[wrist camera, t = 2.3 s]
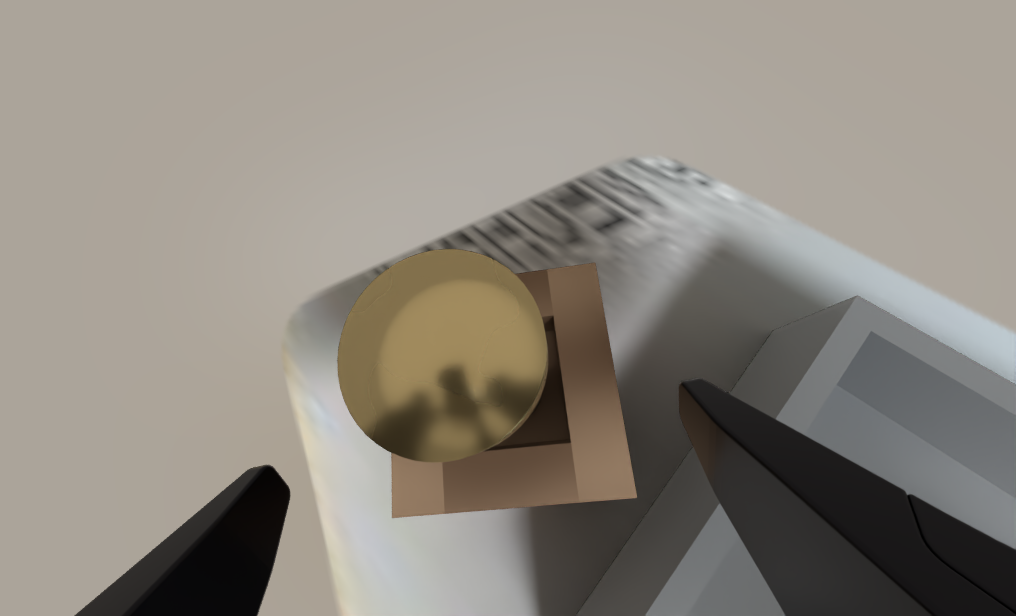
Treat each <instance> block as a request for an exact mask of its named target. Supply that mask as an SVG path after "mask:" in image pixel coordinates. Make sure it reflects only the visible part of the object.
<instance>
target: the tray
mask: <svg viewBox="0 0 1016 616" xmlns="http://www.w3.org/2000/svg"><path fill="white" fill-rule="evenodd" d="M729 394H731V395H733V396H735V397H737V398H738V399H740V400H742V401H744V402H746V403H748V404H749V405H751V406H753V407H755V408H757V409H758V410H760V411H762V412H764V413H766V414H767V415H769V416H771V417H773V418H775V419H777V420H778V421H780V422H782V423H784V424H786V425H787V426H789V427H791V428H793V429H795V430H797V431H798V432H800V433H802V434H804V435H806V436H807V437H809V438H811V439H813V440H815V441H816V442H818V443H820V444H822V445H824V446H826V447H827V448H829V449H831V450H833V451H835V452H836V453H838V454H840V455H842V456H844V457H846V458H847V459H849V460H851V461H853V462H855V463H856V464H858V465H860V466H862V467H864V468H865V469H867V470H869V471H871V472H873V473H875V474H876V475H878V476H880V477H882V478H884V479H885V480H887V481H889V482H891V483H893V484H895V485H896V486H898V487H900V488H902V489H904V490H905V491H906V493H907V495H908V494H913V495H915V496H917V497H918V498H920V499H922V500H924V501H926V502H928V503H929V504H931V505H933V506H935V507H937V508H938V509H940V510H942V511H944V512H946V513H948V514H950V515H951V516H953V517H955V518H957V519H959V520H961V521H963V522H965V523H966V524H968V525H970V526H972V527H974V528H976V529H978V530H980V531H982V532H983V533H985V534H987V535H989V536H991V537H993V538H995V539H997V540H998V541H1001V542H1003V543H1005V544H1007V545H1009V546H1011V547H1013V548H1015V549H1016V384H1014V383H1012V382H1010V381H1009V380H1007V379H1005V378H1003V377H1001V376H1000V375H998V374H996V373H994V372H993V371H991V370H989V369H987V368H985V367H984V366H982V365H980V364H978V363H977V362H975V361H973V360H971V359H970V358H968V357H966V356H964V355H962V354H961V353H959V352H957V351H955V350H954V349H952V348H950V347H948V346H946V345H945V344H943V343H941V342H939V341H938V340H936V339H934V338H932V337H930V336H929V335H927V334H925V333H923V332H922V331H920V330H918V329H916V328H915V327H913V326H911V325H909V324H907V323H906V322H904V321H902V320H900V319H899V318H897V317H895V316H893V315H891V314H890V313H888V312H886V311H884V310H883V309H881V308H879V307H877V306H876V305H874V304H872V303H870V302H868V301H867V300H865V299H863V298H861V297H860V296H858V295H857V296H855V297H852V298H850V299H848V300H845V301H843V302H840V303H838V304H836V305H833V306H831V307H829V308H826V309H824V310H821V311H819V312H817V313H814V314H812V315H809V316H807V317H805V318H802V319H800V320H797V321H795V322H793V323H790V324H788V325H785V326H783V327H781V328H778V329H776V330H773V331H772V333H771V334H770V336H769V337H768V338H767V340H766V341H765V343H764V344H763V346H762V347H761V349H760V350H759V351H758V353H757V354H756V356H755V357H754V359H753V360H752V362H751V363H750V364H749V366H748V367H747V369H746V370H745V372H744V373H743V375H742V376H741V377H740V379H739V380H738V382H737V383H736V385H735V386H734V388H733V389H732V390H731V392H730V393H729ZM576 616H785V614H784V612H783V611H782V609H781V607H780V605H779V604H778V602H777V600H776V599H775V597H774V595H773V593H772V592H771V590H770V588H769V587H768V585H767V583H766V581H765V580H764V578H763V576H762V574H761V573H760V571H759V569H758V568H757V566H756V564H755V562H754V561H753V559H752V557H751V556H750V554H749V552H748V550H747V549H746V547H745V545H744V544H743V542H742V540H741V538H740V537H739V535H738V533H737V532H736V530H735V528H734V526H733V525H732V523H731V521H730V520H729V518H728V516H727V514H726V513H725V511H724V509H723V508H722V506H721V504H720V502H719V500H718V499H717V497H716V495H715V493H714V491H713V489H712V487H711V485H710V483H709V481H708V479H707V476H706V474H705V472H704V470H703V467H702V465H701V463H700V461H699V459H698V456H697V454H696V452H695V450H694V447H692V448H691V450H690V451H689V453H688V454H687V456H686V457H685V458H684V460H683V461H682V463H681V464H680V466H679V467H678V469H677V470H676V471H675V473H674V474H673V476H672V477H671V479H670V480H669V482H668V483H667V484H666V486H665V487H664V489H663V490H662V492H661V493H660V495H659V496H658V497H657V499H656V500H655V502H654V503H653V505H652V506H651V508H650V509H649V510H648V512H647V513H646V515H645V516H644V518H643V519H642V521H641V522H640V524H639V525H638V526H637V528H636V529H635V531H634V532H633V534H632V535H631V537H630V538H629V539H628V541H627V542H626V544H625V545H624V547H623V548H622V550H621V551H620V552H619V554H618V555H617V557H616V558H615V560H614V561H613V563H612V564H611V565H610V567H609V568H608V570H607V571H606V573H605V574H604V576H603V577H602V578H601V580H600V581H599V583H598V584H597V586H596V587H595V589H594V590H593V591H592V593H591V594H590V596H589V597H588V599H587V600H586V602H585V603H584V604H583V606H582V607H581V609H580V610H579V612H578V613H577V615H576Z"/></svg>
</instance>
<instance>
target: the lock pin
mask: <svg viewBox="0 0 1016 616" xmlns="http://www.w3.org/2000/svg"><path fill="white" fill-rule="evenodd" d="M337 361H338V377H339V384H340V389H341V392H342V395H343V399H344V401H345V404H346V406H347V408H348V410H349V412H350V414H351V416H352V417H353V419H354V420H355V422H356V423H357V425H358V426H359V427H360V428H361V429H362V431H363V432H364V433H365V434H366V435H367V436H368V437H369V438H370V439H372V440H373V441H374V442H375V443H376V444H378V445H379V446H381V447H382V448H384V449H386V450H387V451H389V452H391V453H393V454H396V455H398V456H400V457H403V458H407V459H410V460H414V461H421V462H429V463H430V462H448V461H454V460H459V459H463V458H466V457H469V456H472V455H475V454H477V453H480V452H482V451H485V450H487V449H489V448H491V447H493V446H495V445H497V444H499V443H501V442H502V441H504V440H505V439H507V438H508V437H510V436H511V435H512V434H513V433H514V432H516V431H517V430H518V429H519V428H520V427H521V426H522V425H523V423H524V422H525V421H526V420H527V419H528V418H529V416H530V415H532V414H533V413H534V411H535V410H536V409H537V407H538V405H539V403H540V401H541V397H542V392H543V389H544V386H545V382H546V377H547V372H548V346H547V340H546V335H545V329H544V324H543V320H542V317H541V314H540V311H539V308H538V306H537V304H536V302H535V300H534V298H533V296H532V295H531V293H530V292H529V290H528V289H527V287H526V286H525V285H524V283H523V282H522V281H521V280H520V279H519V278H518V277H517V276H516V275H515V274H514V273H513V272H511V271H510V270H509V269H508V268H507V267H505V266H504V265H502V264H500V263H499V262H497V261H496V260H493V259H491V258H489V257H487V256H485V255H482V254H478V253H475V252H472V251H466V250H459V249H441V250H432V251H428V252H423V253H419V254H417V255H414V256H411V257H408V258H406V259H404V260H402V261H400V262H398V263H396V264H395V265H393V266H391V267H390V268H388V269H387V270H385V271H384V272H383V273H382V274H380V275H379V276H378V277H377V278H376V279H375V280H374V281H373V282H372V283H371V284H370V285H369V286H368V287H367V288H366V289H365V290H364V291H363V293H362V294H361V295H360V296H359V298H358V299H357V301H356V303H355V304H354V306H353V307H352V309H351V311H350V313H349V315H348V317H347V320H346V322H345V325H344V328H343V331H342V334H341V338H340V343H339V349H338V360H337Z"/></svg>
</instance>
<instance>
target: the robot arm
mask: <svg viewBox="0 0 1016 616" xmlns="http://www.w3.org/2000/svg"><path fill="white" fill-rule="evenodd" d="M679 413H680V417H681V420H682V423H683V425H684V427H685V429H686V432H687V434H688V436H689V438H690V441H691V443H692V445H693V447H694V450H695V452H696V454H697V456H698V459H699V461H700V463H701V465H702V467H703V470H704V472H705V474H706V476H707V479H708V481H709V483H710V485H711V487H712V489H713V491H714V493H715V495H716V497H717V499H718V500H719V502H720V504H721V506H722V508H723V509H724V511H725V513H726V514H727V516H728V518H729V520H730V521H731V523H732V525H733V526H734V528H735V530H736V532H737V533H738V535H739V537H740V538H741V540H742V542H743V544H744V545H745V547H746V549H747V550H748V552H749V554H750V556H751V557H752V559H753V561H754V562H755V564H756V566H757V568H758V569H759V571H760V573H761V574H762V576H763V578H764V580H765V581H766V583H767V585H768V587H769V588H770V590H771V592H772V593H773V595H774V597H775V599H776V600H777V602H778V604H779V605H780V607H781V609H782V611H783V612H784V614H785V616H1016V549H1015V548H1013V547H1011V546H1009V545H1007V544H1005V543H1003V542H1001V541H998V540H997V539H995V538H993V537H991V536H989V535H987V534H985V533H983V532H982V531H980V530H978V529H976V528H974V527H972V526H970V525H968V524H966V523H965V522H963V521H961V520H959V519H957V518H955V517H953V516H951V515H950V514H948V513H946V512H944V511H942V510H940V509H938V508H937V507H935V506H933V505H931V504H929V503H928V502H926V501H924V500H922V499H920V498H918V497H917V496H915V495H913V494H908V495H907V493H906V491H905V490H904V489H902V488H900V487H898V486H896V485H895V484H893V483H891V482H889V481H887V480H885V479H884V478H882V477H880V476H878V475H876V474H875V473H873V472H871V471H869V470H867V469H865V468H864V467H862V466H860V465H858V464H856V463H855V462H853V461H851V460H849V459H847V458H846V457H844V456H842V455H840V454H838V453H836V452H835V451H833V450H831V449H829V448H827V447H826V446H824V445H822V444H820V443H818V442H816V441H815V440H813V439H811V438H809V437H807V436H806V435H804V434H802V433H800V432H798V431H797V430H795V429H793V428H791V427H789V426H787V425H786V424H784V423H782V422H780V421H778V420H777V419H775V418H773V417H771V416H769V415H767V414H766V413H764V412H762V411H760V410H758V409H757V408H755V407H753V406H751V405H749V404H748V403H746V402H744V401H742V400H740V399H738V398H737V397H735V396H733V395H731V394H729V393H728V392H726V391H724V390H722V389H720V388H718V387H717V386H715V385H713V384H711V383H709V382H708V381H706V380H704V379H701V378H694V379H689V380H684V381H682V382H680V384H679ZM289 500H290V489H289V487H288V485H287V484H286V483H285V481H284V480H283V479H282V477H281V476H280V475H279V473H278V472H277V471H276V470H275V468H274V467H273V466H271V465H263V466H258V467H253V468H251V469H249V470H247V471H246V472H245V473H244V474H242V475H241V476H240V477H239V478H238V479H236V480H235V481H234V482H233V483H232V484H231V485H229V486H228V487H227V488H226V489H225V490H224V491H222V492H221V493H220V494H219V495H217V496H216V497H215V498H214V499H213V500H211V501H210V502H209V503H208V504H207V505H206V506H204V507H203V508H202V509H201V510H200V511H198V512H197V513H196V514H195V515H194V516H193V517H191V518H190V519H189V520H188V521H186V522H185V523H184V524H183V525H182V526H180V527H179V528H178V529H177V530H176V531H175V532H173V533H172V534H171V535H170V536H169V537H167V538H166V539H165V540H164V541H163V542H161V543H160V544H159V545H158V546H157V547H156V548H154V549H153V550H152V551H151V552H150V553H149V554H147V555H146V556H145V557H144V558H142V559H141V560H140V561H139V562H138V563H137V564H135V565H134V566H133V567H132V568H131V569H129V570H128V571H127V572H126V573H125V574H123V575H122V576H121V577H120V578H119V579H117V580H116V581H115V582H114V583H113V584H112V585H110V586H109V587H108V588H107V589H106V590H104V591H103V592H102V593H101V594H100V595H98V596H97V597H96V598H95V599H94V600H93V601H91V602H90V603H89V604H88V605H87V606H85V607H84V608H83V609H82V610H81V611H79V612H78V613H77V614H76V615H75V616H257V615H258V612H259V609H260V606H261V604H262V600H263V597H264V594H265V592H266V589H267V586H268V582H269V580H270V576H271V573H272V569H273V566H274V562H275V558H276V554H277V550H278V546H279V542H280V538H281V534H282V530H283V526H284V521H285V517H286V513H287V509H288V505H289Z"/></svg>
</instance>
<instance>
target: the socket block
mask: <svg viewBox="0 0 1016 616" xmlns="http://www.w3.org/2000/svg"><path fill="white" fill-rule="evenodd" d="M515 275H516V276H517V277H518V278H519V279H520V280H521V281H522V282H523V283H524V285H525V286H526V287H527V289H528V290H529V292H530V293H531V295H532V296H533V298H534V300H535V302H536V304H537V306H538V308H539V311H540V314H541V317H542V320H543V324H544V329H545V335H546V340H547V346H548V372H547V377H546V382H545V386H544V389H543V392H542V397H541V401H540V403H539V405H538V407H537V409H536V410H535V411H534V413H533V414H532V415H530V416H529V418H528V419H527V420H526V421H525V422H524V423H523V425H522V426H521V427H520V428H519V429H518V430H517V431H516V432H514V433H513V434H512V435H511V436H510V437H508V438H507V439H505V440H504V441H502V442H501V443H499V444H497V445H495V446H493V447H491V448H489V449H487V450H485V451H482V452H480V453H477V454H475V455H472V456H469V457H466V458H463V459H459V460H454V461H448V462H430V463H429V462H421V461H414V460H410V459H407V458H403V457H400V456H398V455H396V454H393V453H391V459H392V518H398V517H410V516H422V515H435V514H447V513H459V512H471V511H483V510H496V509H508V508H520V507H532V506H544V505H556V504H569V503H581V502H593V501H605V500H617V499H630V498H637V494H636V488H635V483H634V477H633V471H632V466H631V460H630V454H629V449H628V443H627V438H626V432H625V426H624V421H623V415H622V410H621V404H620V398H619V393H618V387H617V381H616V376H615V370H614V365H613V359H612V353H611V348H610V342H609V337H608V331H607V325H606V320H605V314H604V308H603V303H602V297H601V292H600V286H599V280H598V275H597V269H596V264H595V263H589V264H582V265H575V266H568V267H561V268H554V269H547V270H540V271H533V272H526V273H519V274H515Z"/></svg>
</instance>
